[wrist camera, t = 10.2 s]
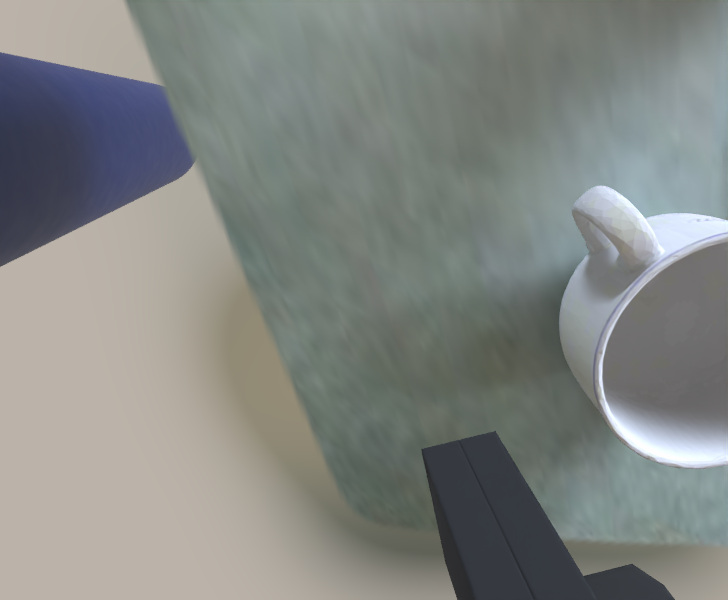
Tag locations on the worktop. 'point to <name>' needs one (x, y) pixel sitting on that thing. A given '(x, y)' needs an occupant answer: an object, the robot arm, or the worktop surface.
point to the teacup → (652, 328)
